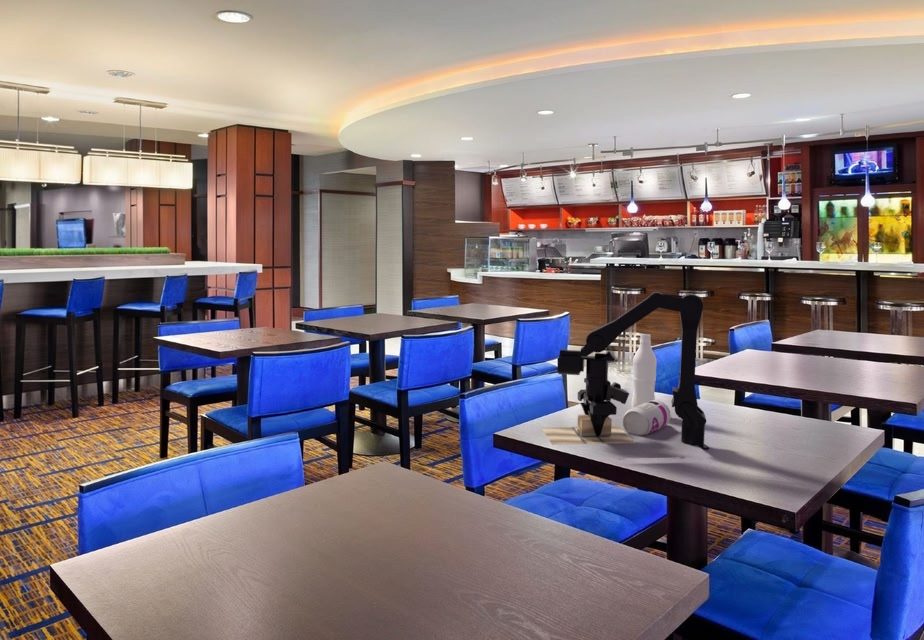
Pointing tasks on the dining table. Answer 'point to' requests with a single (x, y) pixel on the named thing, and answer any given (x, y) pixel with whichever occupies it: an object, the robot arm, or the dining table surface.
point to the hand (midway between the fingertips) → (595, 432)
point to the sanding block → (587, 428)
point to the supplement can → (646, 418)
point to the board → (573, 437)
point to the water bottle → (644, 372)
